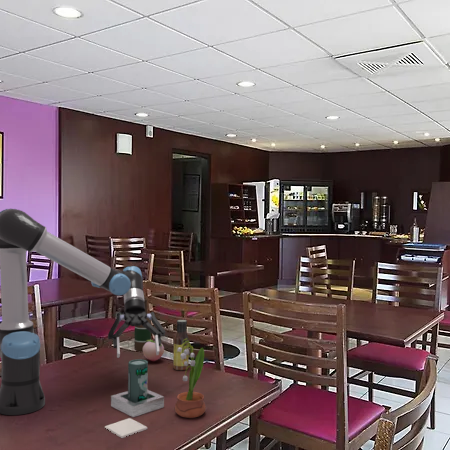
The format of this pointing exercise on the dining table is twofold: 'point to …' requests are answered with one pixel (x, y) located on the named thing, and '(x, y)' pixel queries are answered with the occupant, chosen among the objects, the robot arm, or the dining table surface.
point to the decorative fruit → (152, 350)
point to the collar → (139, 408)
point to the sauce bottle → (178, 342)
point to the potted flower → (191, 386)
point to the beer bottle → (142, 333)
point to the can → (137, 380)
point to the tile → (125, 427)
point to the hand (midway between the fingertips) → (138, 354)
